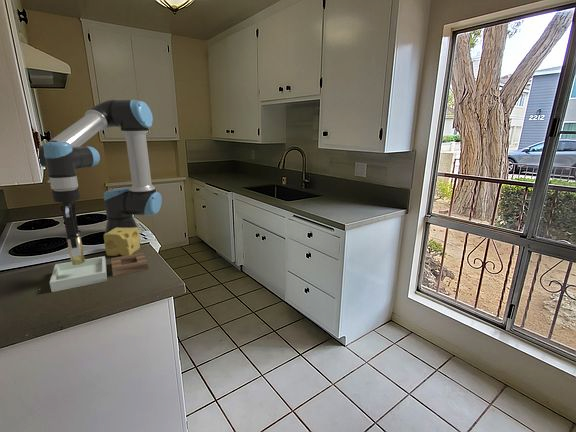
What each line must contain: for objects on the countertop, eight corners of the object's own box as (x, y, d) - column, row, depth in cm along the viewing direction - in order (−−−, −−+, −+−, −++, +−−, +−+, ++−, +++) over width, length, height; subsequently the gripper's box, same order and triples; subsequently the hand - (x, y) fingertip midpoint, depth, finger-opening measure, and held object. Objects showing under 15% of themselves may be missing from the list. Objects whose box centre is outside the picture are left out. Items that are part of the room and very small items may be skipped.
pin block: (111, 264, 123) (111, 258, 122) (144, 258, 129) (143, 252, 128) (113, 276, 113) (112, 270, 112) (148, 269, 119) (147, 263, 118)
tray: (57, 272, 115) (55, 264, 114) (106, 264, 123) (104, 256, 122) (51, 292, 102) (49, 282, 101) (107, 281, 109) (105, 272, 108)
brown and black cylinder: (72, 261, 111) (66, 233, 108) (85, 259, 113) (80, 231, 110) (71, 265, 108) (65, 236, 105) (84, 263, 110) (79, 234, 107)
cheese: (129, 256, 130) (126, 234, 127) (104, 256, 130) (101, 234, 127) (141, 247, 140) (139, 227, 137) (118, 247, 140) (115, 226, 138)
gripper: (54, 185, 108) (66, 247, 114) (47, 194, 94) (61, 264, 100) (79, 184, 112) (89, 244, 118) (76, 192, 98) (88, 259, 104)
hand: (76, 253), depth 109 cm, fingers closed on brown and black cylinder, 4 cm apart
